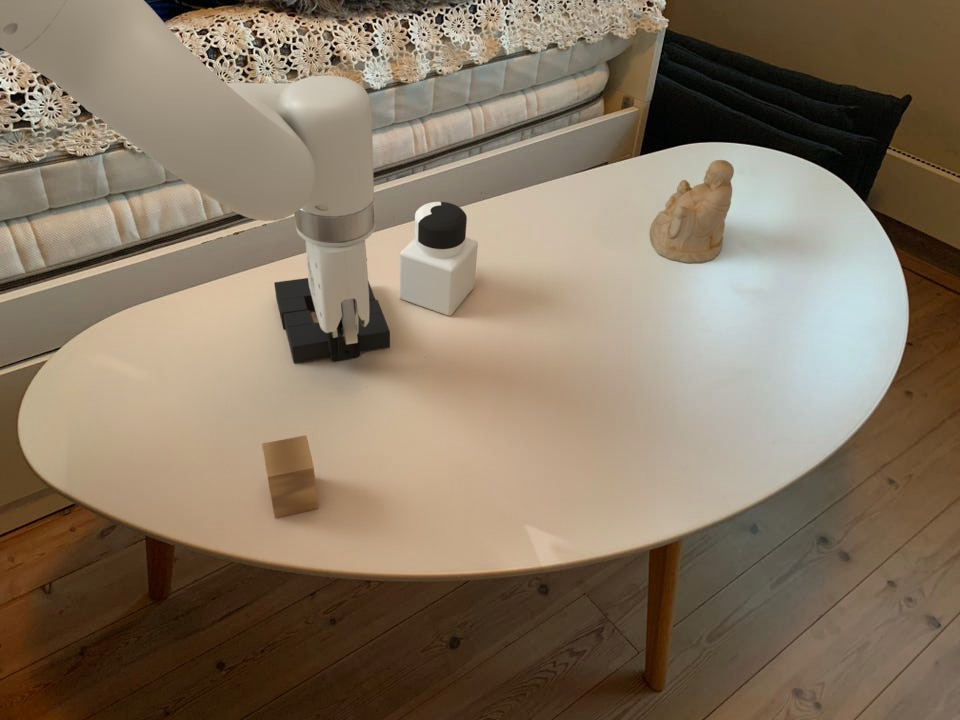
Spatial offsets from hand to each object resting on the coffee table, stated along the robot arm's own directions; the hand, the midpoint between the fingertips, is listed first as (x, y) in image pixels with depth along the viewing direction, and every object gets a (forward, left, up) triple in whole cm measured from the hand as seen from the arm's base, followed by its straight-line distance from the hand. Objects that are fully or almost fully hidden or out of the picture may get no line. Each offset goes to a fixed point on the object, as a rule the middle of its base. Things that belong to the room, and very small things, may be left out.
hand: (344, 354), depth 86 cm
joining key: (-8, -17, -2) cm, 19 cm away
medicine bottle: (+14, +10, -2) cm, 17 cm away
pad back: (0, +11, -2) cm, 11 cm away
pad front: (0, +5, -2) cm, 5 cm away
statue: (+52, +14, -2) cm, 54 cm away
